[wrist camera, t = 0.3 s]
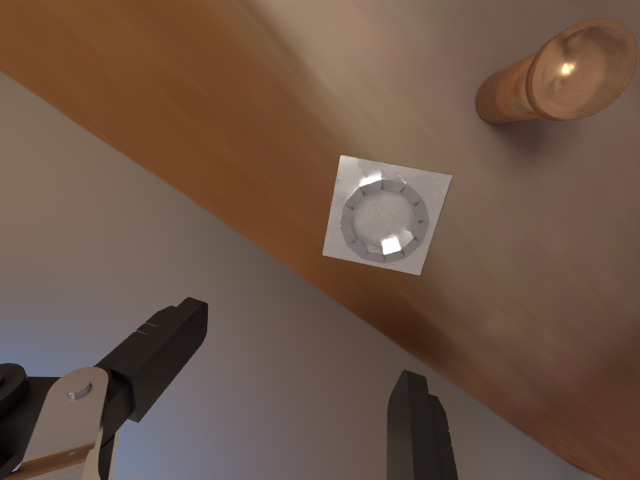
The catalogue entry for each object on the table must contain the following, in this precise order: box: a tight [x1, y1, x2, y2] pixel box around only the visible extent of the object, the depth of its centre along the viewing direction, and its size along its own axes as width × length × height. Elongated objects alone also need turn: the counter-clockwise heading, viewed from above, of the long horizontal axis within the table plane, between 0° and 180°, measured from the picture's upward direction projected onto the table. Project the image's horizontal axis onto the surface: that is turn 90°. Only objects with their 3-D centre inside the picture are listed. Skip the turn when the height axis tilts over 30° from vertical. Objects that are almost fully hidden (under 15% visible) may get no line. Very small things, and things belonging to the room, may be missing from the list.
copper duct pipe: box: [475, 18, 637, 124], centre depth 24 cm, size 6×6×12 cm
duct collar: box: [323, 155, 452, 275], centre depth 34 cm, size 13×13×3 cm
